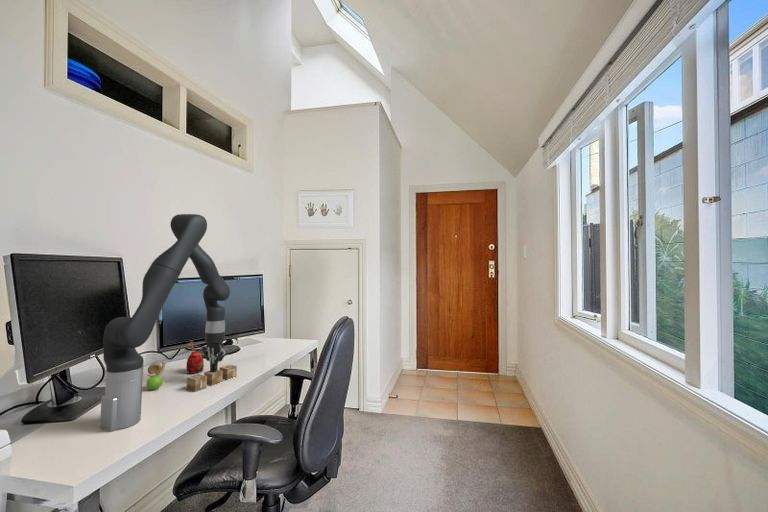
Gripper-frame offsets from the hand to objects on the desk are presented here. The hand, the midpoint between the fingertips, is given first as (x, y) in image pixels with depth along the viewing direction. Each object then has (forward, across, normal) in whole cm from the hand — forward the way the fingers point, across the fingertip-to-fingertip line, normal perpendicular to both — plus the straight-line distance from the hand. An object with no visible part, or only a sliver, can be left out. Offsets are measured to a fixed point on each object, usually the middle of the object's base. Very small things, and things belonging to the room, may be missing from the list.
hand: (213, 371), depth 139 cm
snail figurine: (+5, -14, -15) cm, 21 cm away
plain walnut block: (+5, 0, 0) cm, 5 cm away
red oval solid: (+5, -20, +6) cm, 21 cm away
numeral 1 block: (+5, 0, -8) cm, 9 cm away
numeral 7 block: (+5, 0, +7) cm, 9 cm away
